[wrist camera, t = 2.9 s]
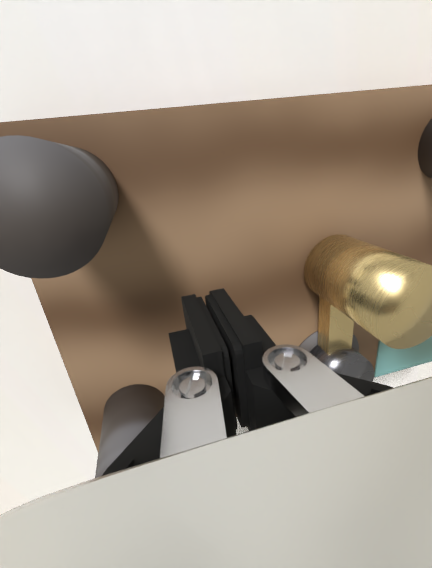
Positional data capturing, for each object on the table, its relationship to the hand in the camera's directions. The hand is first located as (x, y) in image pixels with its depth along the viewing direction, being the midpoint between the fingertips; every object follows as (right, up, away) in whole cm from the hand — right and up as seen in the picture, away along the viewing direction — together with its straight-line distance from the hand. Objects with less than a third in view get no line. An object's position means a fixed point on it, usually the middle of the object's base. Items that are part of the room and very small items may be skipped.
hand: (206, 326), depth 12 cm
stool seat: (+3, +3, +6) cm, 7 cm away
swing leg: (+7, 0, +5) cm, 8 cm away
